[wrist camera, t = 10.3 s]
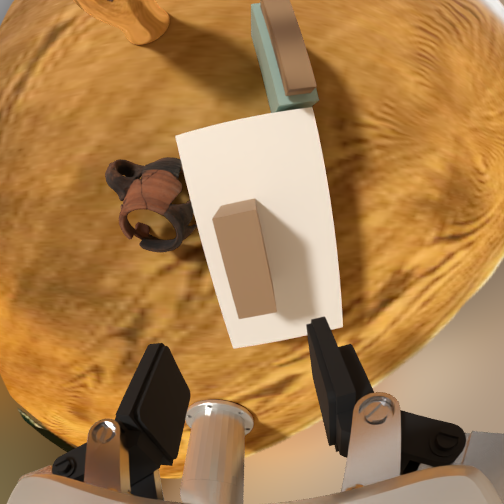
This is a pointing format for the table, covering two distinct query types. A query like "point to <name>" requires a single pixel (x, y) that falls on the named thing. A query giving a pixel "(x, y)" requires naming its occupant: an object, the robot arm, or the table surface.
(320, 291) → the lid
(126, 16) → the beer glass
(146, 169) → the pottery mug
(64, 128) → the table surface
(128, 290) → the table surface
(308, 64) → the brown rectangular block
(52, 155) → the table surface
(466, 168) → the table surface
